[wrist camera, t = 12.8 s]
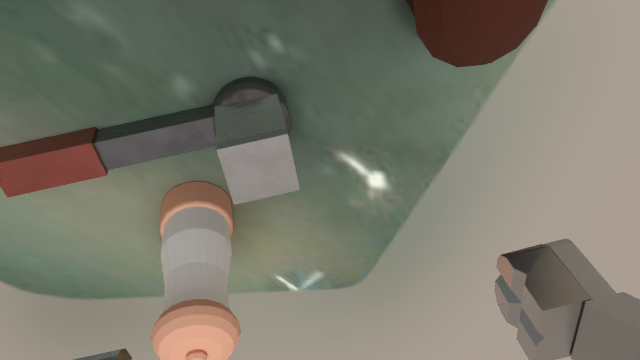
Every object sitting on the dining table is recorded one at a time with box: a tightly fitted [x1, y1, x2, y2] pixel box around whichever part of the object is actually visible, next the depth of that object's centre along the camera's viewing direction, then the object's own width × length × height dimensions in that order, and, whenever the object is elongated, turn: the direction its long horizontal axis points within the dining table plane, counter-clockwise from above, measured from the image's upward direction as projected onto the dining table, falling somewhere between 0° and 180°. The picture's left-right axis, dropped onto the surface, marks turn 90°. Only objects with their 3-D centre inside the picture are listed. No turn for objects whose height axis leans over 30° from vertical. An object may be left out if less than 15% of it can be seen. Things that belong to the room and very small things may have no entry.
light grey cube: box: [214, 93, 300, 205], centre depth 44 cm, size 6×6×7 cm
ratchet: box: [0, 77, 291, 197], centre depth 47 cm, size 7×26×6 cm, turn 99°
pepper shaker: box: [151, 181, 241, 360], centre depth 48 cm, size 7×7×19 cm
